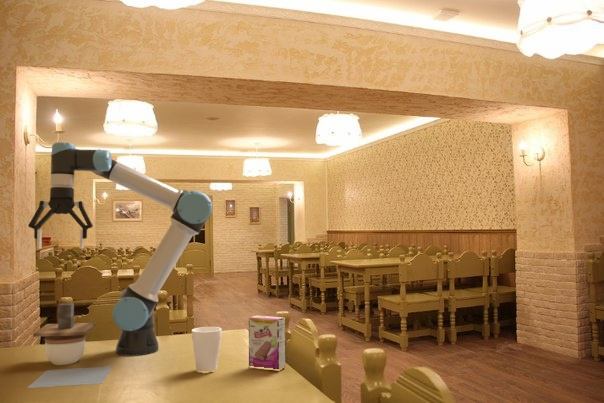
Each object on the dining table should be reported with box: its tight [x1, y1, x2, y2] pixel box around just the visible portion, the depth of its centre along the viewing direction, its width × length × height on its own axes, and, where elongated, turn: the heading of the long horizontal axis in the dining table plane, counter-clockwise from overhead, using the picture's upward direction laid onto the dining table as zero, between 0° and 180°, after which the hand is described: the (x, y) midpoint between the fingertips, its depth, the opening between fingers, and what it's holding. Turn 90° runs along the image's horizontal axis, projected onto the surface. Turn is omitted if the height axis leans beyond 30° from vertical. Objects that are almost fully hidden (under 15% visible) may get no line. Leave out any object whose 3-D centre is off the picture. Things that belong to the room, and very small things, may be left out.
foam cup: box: [191, 326, 223, 372], centre depth 166 cm, size 10×9×13 cm
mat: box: [27, 366, 114, 389], centre depth 159 cm, size 20×20×1 cm
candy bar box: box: [248, 315, 286, 369], centre depth 168 cm, size 11×5×16 cm, turn 65°
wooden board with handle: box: [32, 302, 96, 338], centre depth 178 cm, size 16×16×9 cm
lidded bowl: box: [44, 334, 87, 366], centre depth 177 cm, size 13×13×11 cm
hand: (60, 248), depth 180 cm, fingers open, 13 cm apart
